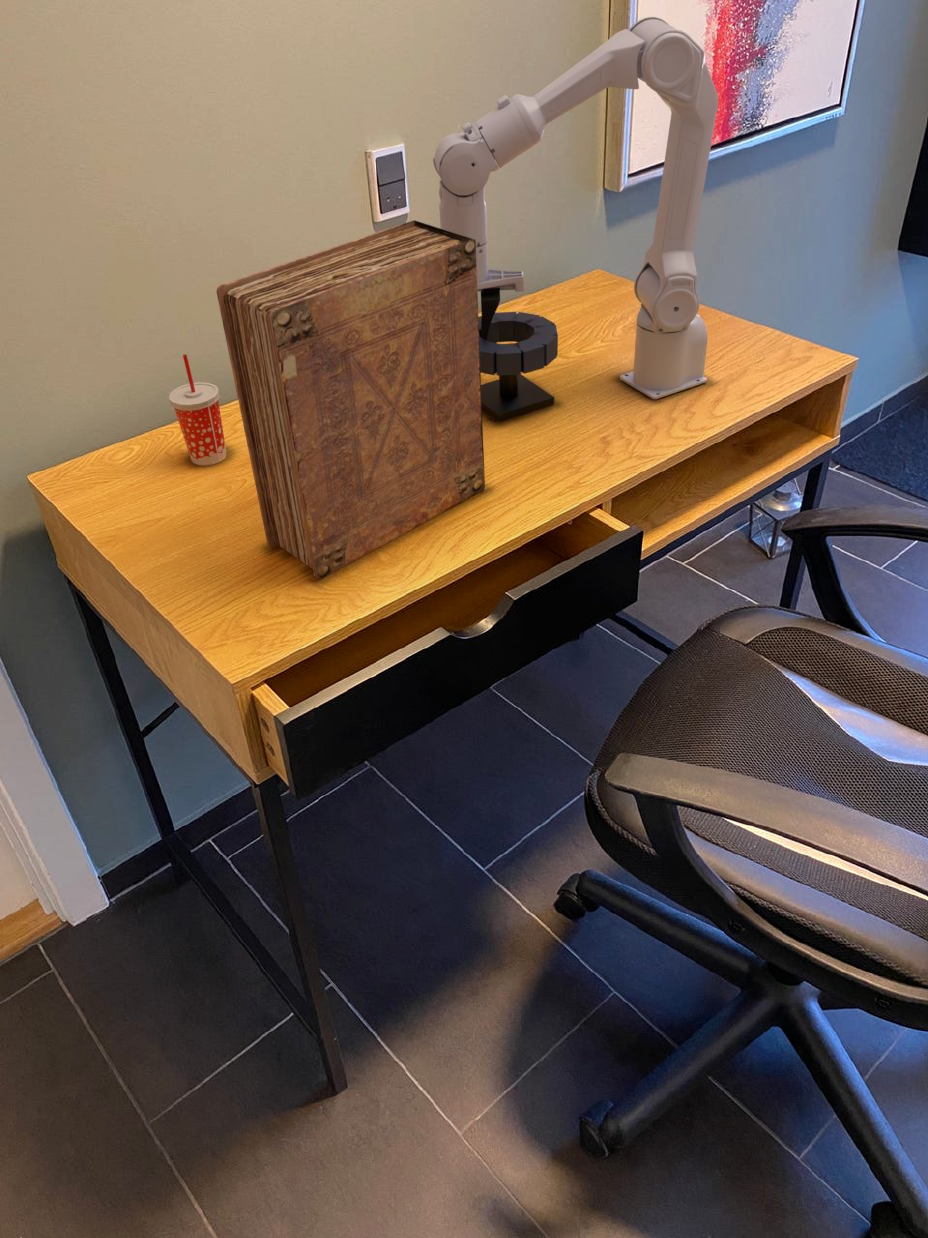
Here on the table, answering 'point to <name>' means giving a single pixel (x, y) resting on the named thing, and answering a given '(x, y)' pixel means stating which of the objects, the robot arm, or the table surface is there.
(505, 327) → the hoop
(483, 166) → the robot arm
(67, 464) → the table surface
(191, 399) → the beverage cup
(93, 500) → the table surface
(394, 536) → the book
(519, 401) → the peg stand
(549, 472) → the table surface
